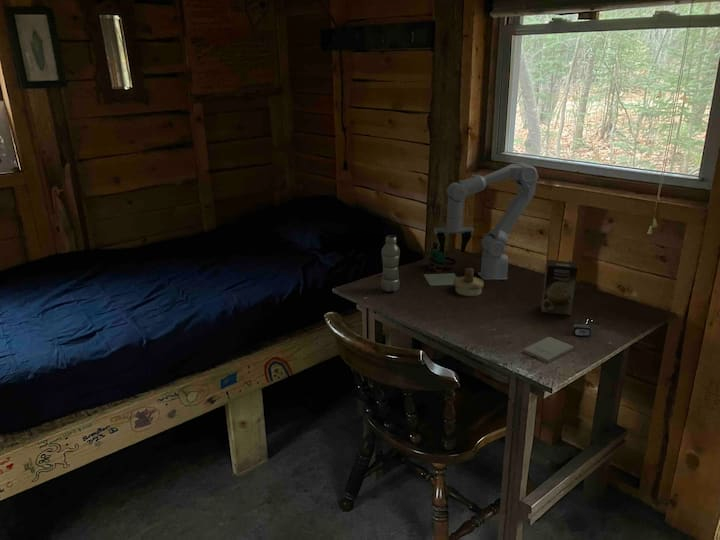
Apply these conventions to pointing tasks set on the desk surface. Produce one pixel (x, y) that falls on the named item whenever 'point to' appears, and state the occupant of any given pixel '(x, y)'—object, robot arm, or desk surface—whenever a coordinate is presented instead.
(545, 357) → the external hard drive
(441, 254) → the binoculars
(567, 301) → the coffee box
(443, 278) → the mat
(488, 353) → the desk surface
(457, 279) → the lid
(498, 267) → the robot arm
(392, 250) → the plastic bottle
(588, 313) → the desk surface
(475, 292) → the bowl
